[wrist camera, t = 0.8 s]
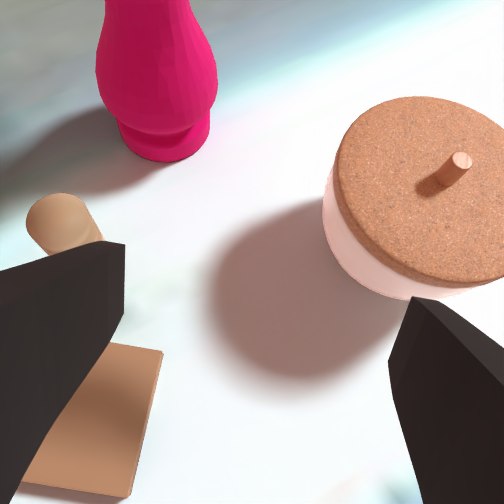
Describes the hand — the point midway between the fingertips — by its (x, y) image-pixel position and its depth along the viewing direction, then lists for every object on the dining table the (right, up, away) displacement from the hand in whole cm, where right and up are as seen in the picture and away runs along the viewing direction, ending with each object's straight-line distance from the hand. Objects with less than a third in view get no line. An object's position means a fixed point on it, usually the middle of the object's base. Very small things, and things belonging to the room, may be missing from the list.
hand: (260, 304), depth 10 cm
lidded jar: (+8, +2, +17) cm, 19 cm away
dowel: (-10, +1, +15) cm, 18 cm away
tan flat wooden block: (-10, -7, +12) cm, 17 cm away
